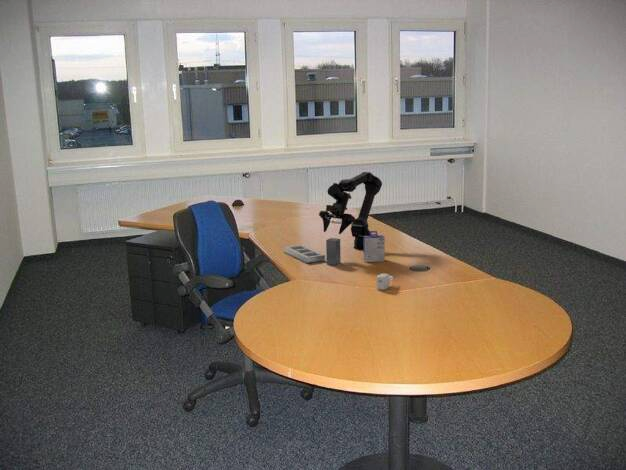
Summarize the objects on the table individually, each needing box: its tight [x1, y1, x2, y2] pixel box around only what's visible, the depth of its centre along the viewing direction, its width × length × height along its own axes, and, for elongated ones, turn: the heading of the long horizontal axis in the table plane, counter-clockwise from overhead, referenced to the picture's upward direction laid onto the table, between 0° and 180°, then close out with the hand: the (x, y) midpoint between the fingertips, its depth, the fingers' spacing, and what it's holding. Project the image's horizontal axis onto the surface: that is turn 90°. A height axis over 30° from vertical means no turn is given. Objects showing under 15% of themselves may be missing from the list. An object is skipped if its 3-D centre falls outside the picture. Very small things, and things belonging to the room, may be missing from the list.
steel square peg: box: [325, 237, 342, 266], centre depth 292 cm, size 5×5×12 cm
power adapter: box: [375, 272, 395, 291], centre depth 255 cm, size 11×5×6 cm, turn 150°
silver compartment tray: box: [283, 244, 326, 265], centre depth 308 cm, size 26×10×3 cm, turn 27°
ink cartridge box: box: [363, 230, 386, 263], centre depth 296 cm, size 10×6×14 cm, turn 95°
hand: (331, 232), depth 300 cm, fingers open, 9 cm apart
